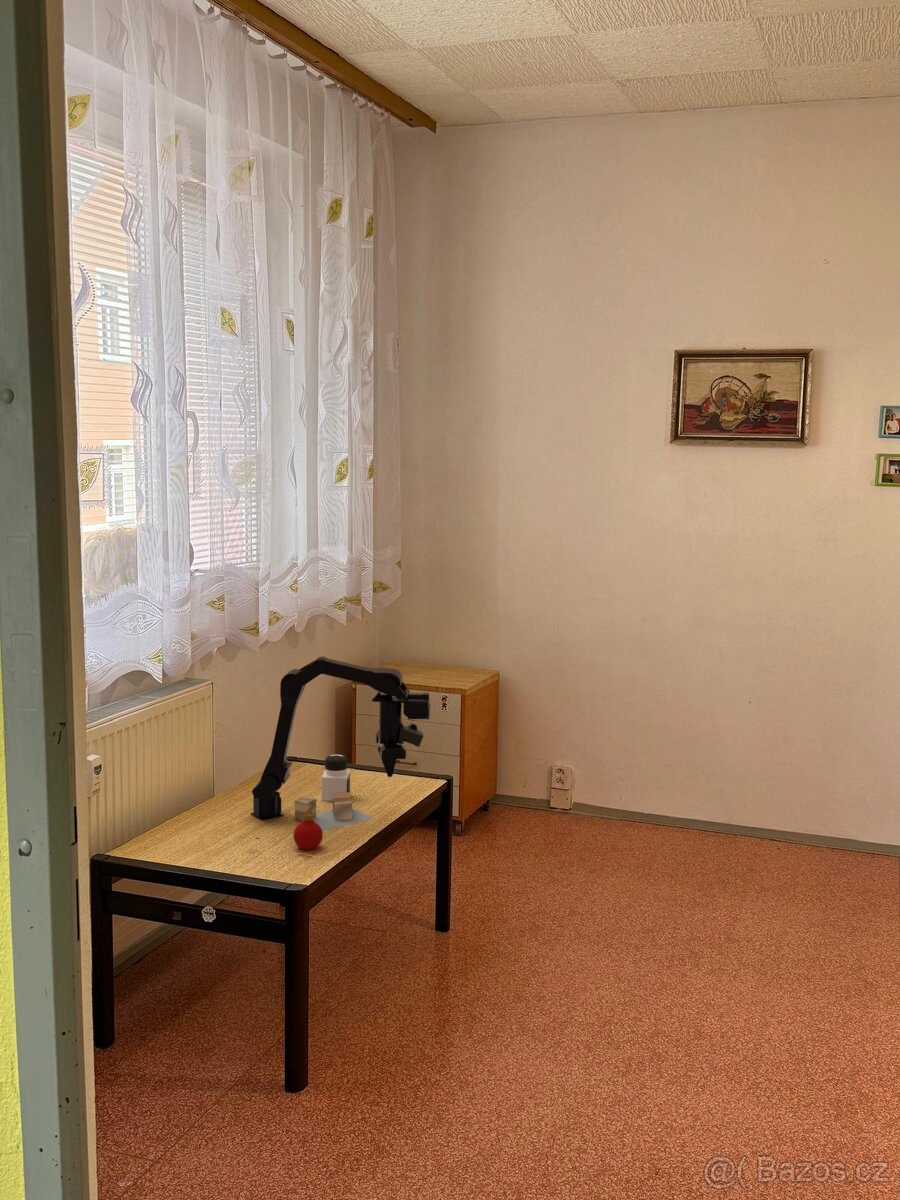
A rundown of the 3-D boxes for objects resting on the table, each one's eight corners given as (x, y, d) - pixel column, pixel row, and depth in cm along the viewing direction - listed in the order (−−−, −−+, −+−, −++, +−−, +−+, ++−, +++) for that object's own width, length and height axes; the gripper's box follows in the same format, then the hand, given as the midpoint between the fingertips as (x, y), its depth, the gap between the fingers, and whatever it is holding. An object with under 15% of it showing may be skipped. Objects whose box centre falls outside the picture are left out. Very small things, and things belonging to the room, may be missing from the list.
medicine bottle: (347, 802, 313) (347, 760, 311) (321, 802, 313) (321, 759, 311) (350, 794, 320) (350, 753, 318) (324, 794, 320) (324, 752, 318)
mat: (321, 832, 289) (321, 830, 289) (297, 819, 298) (297, 818, 298) (373, 820, 299) (373, 818, 299) (347, 808, 308) (348, 806, 308)
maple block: (306, 821, 296) (306, 802, 295) (294, 818, 298) (294, 800, 297) (316, 817, 299) (316, 798, 298) (304, 814, 301) (304, 796, 300)
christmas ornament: (308, 856, 272) (308, 816, 271) (287, 850, 276) (287, 810, 275) (328, 848, 278) (328, 809, 276) (307, 842, 282) (307, 803, 281)
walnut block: (351, 802, 297) (349, 792, 306) (334, 803, 297) (332, 792, 305) (351, 819, 298) (349, 808, 307) (334, 819, 297) (332, 808, 306)
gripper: (426, 726, 287) (425, 786, 289) (416, 709, 305) (416, 765, 307) (382, 727, 285) (381, 787, 287) (375, 709, 303) (374, 766, 305)
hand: (389, 776), depth 297 cm, fingers closed
